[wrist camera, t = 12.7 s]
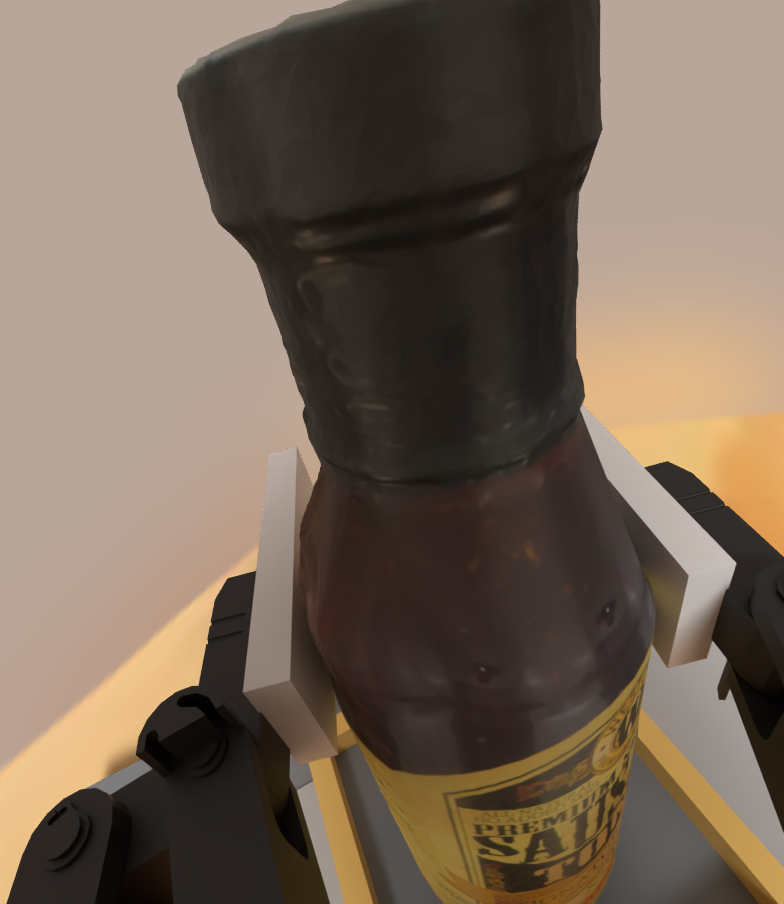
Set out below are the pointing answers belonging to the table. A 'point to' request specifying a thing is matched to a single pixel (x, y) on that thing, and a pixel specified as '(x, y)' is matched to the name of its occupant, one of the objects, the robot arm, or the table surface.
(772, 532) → the table surface
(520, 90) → the sauce bottle
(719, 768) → the grey fixture plate
